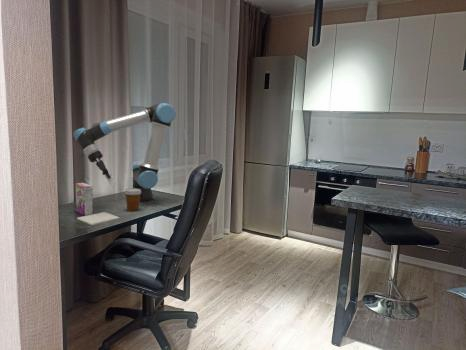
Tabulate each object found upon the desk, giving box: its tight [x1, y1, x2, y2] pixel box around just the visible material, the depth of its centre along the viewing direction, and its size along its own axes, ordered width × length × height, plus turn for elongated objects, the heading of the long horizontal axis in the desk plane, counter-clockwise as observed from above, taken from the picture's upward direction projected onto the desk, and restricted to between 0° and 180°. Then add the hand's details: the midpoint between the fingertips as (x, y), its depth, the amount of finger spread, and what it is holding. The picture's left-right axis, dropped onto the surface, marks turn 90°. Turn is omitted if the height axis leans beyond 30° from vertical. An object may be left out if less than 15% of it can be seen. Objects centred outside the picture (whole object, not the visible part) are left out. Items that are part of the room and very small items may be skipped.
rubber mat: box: [76, 211, 120, 226], centre depth 176 cm, size 16×14×1 cm
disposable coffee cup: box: [124, 187, 141, 212], centre depth 196 cm, size 10×10×12 cm
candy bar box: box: [75, 182, 94, 217], centre depth 183 cm, size 11×5×16 cm, turn 47°
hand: (113, 185), depth 189 cm, fingers open, 13 cm apart
